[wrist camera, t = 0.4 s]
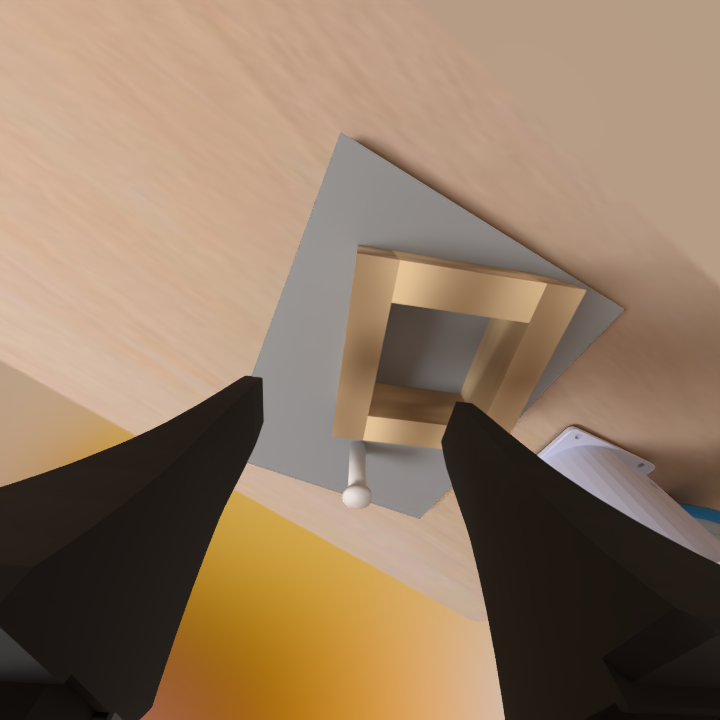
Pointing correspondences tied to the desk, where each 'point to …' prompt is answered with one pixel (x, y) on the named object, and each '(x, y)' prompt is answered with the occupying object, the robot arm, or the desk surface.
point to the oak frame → (490, 364)
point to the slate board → (402, 336)
